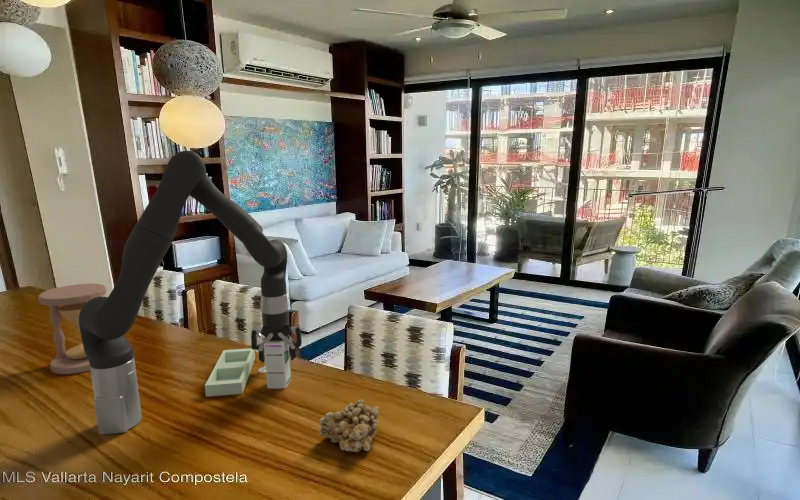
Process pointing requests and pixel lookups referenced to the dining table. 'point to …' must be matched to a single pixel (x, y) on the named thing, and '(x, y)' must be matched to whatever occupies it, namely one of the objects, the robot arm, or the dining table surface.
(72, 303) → the hourglass
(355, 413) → the mineral formation
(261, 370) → the wineglass
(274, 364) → the syrup box
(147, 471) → the dining table surface
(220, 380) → the tray
